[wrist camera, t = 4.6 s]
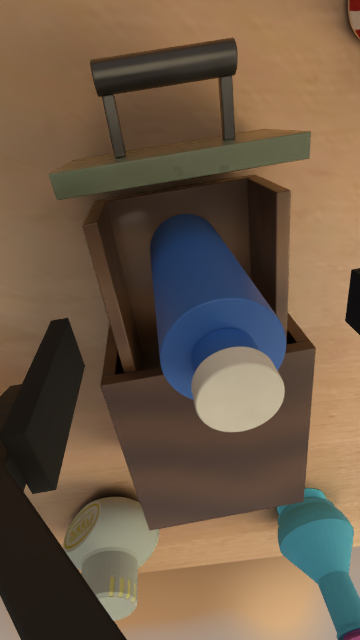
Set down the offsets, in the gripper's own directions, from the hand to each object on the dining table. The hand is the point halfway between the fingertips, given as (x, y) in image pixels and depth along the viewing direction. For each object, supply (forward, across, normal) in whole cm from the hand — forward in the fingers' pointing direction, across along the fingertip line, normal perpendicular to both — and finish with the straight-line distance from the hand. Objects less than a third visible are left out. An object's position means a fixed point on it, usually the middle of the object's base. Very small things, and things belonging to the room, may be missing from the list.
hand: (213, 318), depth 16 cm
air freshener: (+12, -13, -32) cm, 37 cm away
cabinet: (+12, 0, -14) cm, 18 cm away
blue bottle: (+10, 0, 0) cm, 10 cm away
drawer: (+11, 0, +1) cm, 11 cm away
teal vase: (+12, +11, -38) cm, 42 cm away
